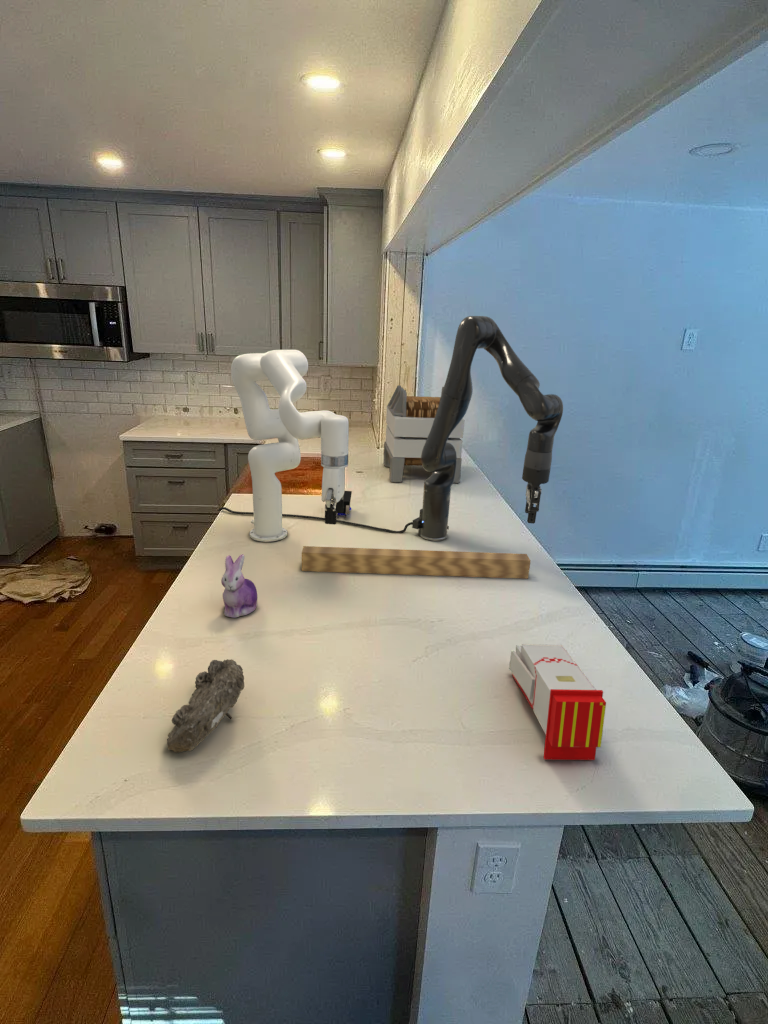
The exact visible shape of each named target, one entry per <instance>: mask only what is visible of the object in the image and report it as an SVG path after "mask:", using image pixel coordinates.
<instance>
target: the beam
mask: <svg viewBox="0 0 768 1024" xmlns="http://www.w3.org/2000/svg"><path fill="white" fill-rule="evenodd" d="M530 567H531V558H530V557H529V555H528V554H527V553H511V552H510V553H508V552H507V553H506V552H480V551H454V550H453V551H451V550H423V549H400V548H398V549H395V548H371V547H370V548H369V547H342V546H341V547H339V546H338V547H337V546H316V545H315V546H312V545H311V546H309V545H304V546H303V547H302V550H301V571H302V572H318V573H319V572H320V573H321V572H322V573H323V572H324V573H349V574H350V573H352V574H353V573H354V574H377V575H378V574H381V575H383V574H384V575H411V576H412V575H413V576H438V577H464V578H465V577H466V578H467V577H468V578H496V579H497V578H498V579H523V580H524V579H525V580H526V579H527V580H528V579H529V574H530Z"/></svg>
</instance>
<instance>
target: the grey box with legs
mask: <svg viewBox="0 0 768 1024" xmlns="http://www.w3.org/2000/svg"><path fill="white" fill-rule="evenodd" d="M443 388H444V386H442V387H441V392H440V393H441V394H442V391H443ZM407 394H408V393H407V390H406V389H404V388H403V387H402V385H399V384H398V385H397V386H396V388H395V390H394V392H393V394H392V395H391V398H390V400H389V402H388V404H387V405H386V413H385V414H386V415H385V423H386V428H385V438H384V442H383V466H384V467H388V468H389V475H388V476H389V477H388V478H389V480H390V482H391V483H402V482H403V475H404V469H405V466H406V467H407V466H411V467H412V466H413V467H415V466H416V467H417V466H418V467H423V466H422V463H421V454H422V450H423V447H424V445H425V442H426V440H427V438H428V435H429V433H430V430H431V428H432V425H433V422H434V418H435V415H436V412H437V409H438V406H439V402H440V398H441V396H415V395H414V396H413V395H412V396H411V395H407ZM441 394H440V395H441ZM464 429H465V419H464V418H462V420H461V421H460V422H459V424H458V425H457V426H456V427H455V429H454V430H453V431H452V432H451V434H450V436H449V438H448V440H447V442H448V443H450V444H452V445H453V446H454V448H455V450H456V455H457V462H456V470H455V477H454V482H453V484H455V483H456V484H459V483H461V472H462V461H463V460H462V453H463V442H464V441H463V440H462V439H463V438H464V431H465V430H464Z"/></svg>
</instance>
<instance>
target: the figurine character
mask: <svg viewBox="0 0 768 1024" xmlns="http://www.w3.org/2000/svg"><path fill="white" fill-rule="evenodd" d="M352 492H353V491H352V490H345V491H344V495H343V499H341V500H344V509H343V513H336V519H339V518H340V517H341V516H344V519H347V516H348V515H350V511H352V507H351V498H352V494H353V493H352Z"/></svg>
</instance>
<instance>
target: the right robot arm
mask: <svg viewBox="0 0 768 1024" xmlns="http://www.w3.org/2000/svg"><path fill="white" fill-rule="evenodd" d="M477 349H483V350H485V351H486V352H487V353H489V355H491V356H492V357H493V358H494V360H495V361H496V363H497V365H498V368H499V372H500V375H501V377H502V378H503V380H504V382H505V383H506V384H507V385H508V387H509V388H510V389H511V391H513V393H515V395H516V396H517V397H518V399H519V401H520V403H521V406H522V407H523V409H524V411H525V413H526V414H527V415H528V416H529V417H530V418H531V419H532V420H534V421H537V422H536V425H535V426H534V427H533V428H532V429H530V431H529V433H528V439H527V446H526V451H525V454H524V460H523V468H522V474H521V475H522V476H521V479H522V480H523V481H524V482H526V483H527V484H526V485H525V486H526V487H525V506H524V507H525V508H524V512H525V514H527V519H526V521H527V523H528V524H535V523H536V521H537V520H536V519H537V513H538V512H539V511H540V505H541V504H540V503H541V495H542V487H541V485H542V484H543V485H545V484H547V483H549V481H550V476H551V475H550V474H551V467H552V462H553V450H554V449H553V448H554V443H555V435H556V433H557V431H558V429H559V426H560V423H561V421H562V417H563V413H564V403H563V400H562V398H561V397H560V396H559V395H558V394H554V393H549V394H543V393H542V392H541V390H540V387H541V383H540V381H539V379H538V378H537V376H536V375H535V374H534V373H533V372H532V371H531V370H530V368H529V367H528V366H527V365H525V363H524V362H523V361H522V360H521V358H520V357H519V356H518V354H517V353H516V352H515V351H514V348H513V347H512V346H511V345H510V343H509V341H508V340H507V339H506V337H505V335H504V334H503V332H502V330H501V329H500V327H499V326H498V324H497V322H495V320H494V319H493V318H491V317H489V316H485V315H469V316H466V317H464V318H463V319H462V320H461V322H460V323H459V325H458V327H457V331H456V334H455V340H454V345H453V351H452V356H451V359H450V364H449V367H448V371H447V375H446V379H445V382H444V385H443V387H444V388H443V391H442V390H441V392H442V394H440V397H441V398H440V402H439V406H438V409H437V412H436V415H435V418H434V422H433V425H432V428H431V430H430V433H429V435H428V438H427V440H426V442H425V445H424V447H423V450H422V454H421V463H422V466H421V467H422V468H423V470H424V471H426V472H428V473H431V474H430V475H429V477H427V478H426V479H425V480H424V482H423V493H422V496H423V497H422V506H421V508H420V509H419V516H418V517H416V518H414V519H412V521H411V522H408V523H406V524H405V526H404V528H403V529H401V530H392V529H388V528H384V527H383V528H382V527H377V526H372V525H367V524H362V523H357V522H353V521H352V522H351V521H347V520H340V519H336V523H340V524H343V525H344V524H345V525H350V526H354V527H355V526H356V527H360V528H366V529H370V530H375V531H379V532H387V533H389V534H390V533H391V534H402V533H405V532H406V531H407V530H408V527H410V526H412V527H411V528H412V529H415V530H417V535H418V536H420V538H421V539H424V540H426V541H432V542H440V541H444V540H446V539H447V538H448V531H449V529H450V526H449V517H450V516H449V514H450V504H451V494H452V493H451V491H452V486H453V484H454V483H453V482H454V477H455V470H456V462H457V455H456V450H455V448H454V446H453V445H452V444H450V443H448V442H447V440H448V438H449V436H450V434H451V432H452V431H453V430H454V429H455V427H456V426H457V425H458V424H459V422H460V421H461V420H462V419H464V417H465V416H466V414H467V412H468V409H469V406H470V403H471V401H472V397H473V389H474V388H473V380H472V379H473V378H472V374H471V373H472V372H471V371H472V363H473V360H474V357H475V354H476V352H477V351H478V350H477ZM223 510H225V511H227V512H229V513H230V514H234V515H246V516H247V515H249V516H254V514H253V511H252V512H251V511H236V510H233V509H230V508H228V507H226V506H221V507H220V508H219V509H218V510H217V511H218V512H221V511H223ZM282 517H284V518H285V517H287V518H301V519H309V520H311V519H312V520H318V521H325V517H322V516H313V515H303V514H302V515H301V514H291V513H289V514H288V513H287V514H286V513H282Z"/></svg>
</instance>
